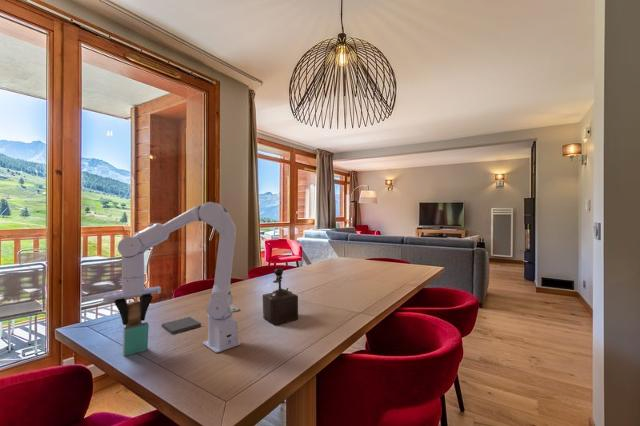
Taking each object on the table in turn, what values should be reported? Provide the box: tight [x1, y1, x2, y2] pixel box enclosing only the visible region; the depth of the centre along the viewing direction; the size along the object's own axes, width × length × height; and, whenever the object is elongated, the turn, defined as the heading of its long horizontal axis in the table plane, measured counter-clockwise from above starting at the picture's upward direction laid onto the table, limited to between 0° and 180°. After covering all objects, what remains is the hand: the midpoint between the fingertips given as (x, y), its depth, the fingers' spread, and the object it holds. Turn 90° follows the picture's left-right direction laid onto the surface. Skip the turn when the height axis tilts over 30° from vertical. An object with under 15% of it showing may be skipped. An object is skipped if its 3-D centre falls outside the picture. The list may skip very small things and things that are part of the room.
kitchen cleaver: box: [229, 302, 241, 313], centre depth 132 cm, size 24×1×10 cm
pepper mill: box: [262, 267, 299, 327], centre depth 115 cm, size 16×11×18 cm
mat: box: [161, 316, 202, 335], centre depth 107 cm, size 10×10×1 cm
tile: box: [122, 321, 149, 357], centre depth 87 cm, size 2×6×8 cm, turn 135°
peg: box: [125, 300, 142, 327], centre depth 88 cm, size 4×4×8 cm
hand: (133, 321), depth 88 cm, fingers closed on peg, 4 cm apart
